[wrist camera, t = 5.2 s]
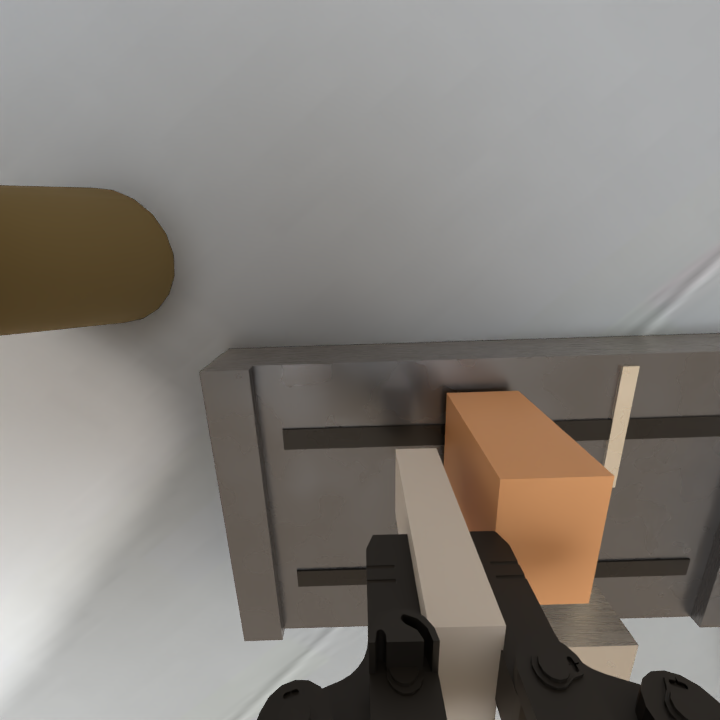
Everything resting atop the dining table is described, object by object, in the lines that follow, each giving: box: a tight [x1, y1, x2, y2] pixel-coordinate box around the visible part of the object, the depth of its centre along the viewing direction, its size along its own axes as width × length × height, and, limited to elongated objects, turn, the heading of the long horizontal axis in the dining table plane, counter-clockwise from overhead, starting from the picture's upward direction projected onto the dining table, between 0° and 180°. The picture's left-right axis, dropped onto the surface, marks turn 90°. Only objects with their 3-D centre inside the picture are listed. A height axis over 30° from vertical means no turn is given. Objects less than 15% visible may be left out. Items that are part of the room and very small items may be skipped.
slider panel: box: [199, 333, 720, 681], centre depth 17 cm, size 15×26×8 cm, turn 92°
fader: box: [444, 391, 615, 605], centre depth 13 cm, size 4×3×6 cm
